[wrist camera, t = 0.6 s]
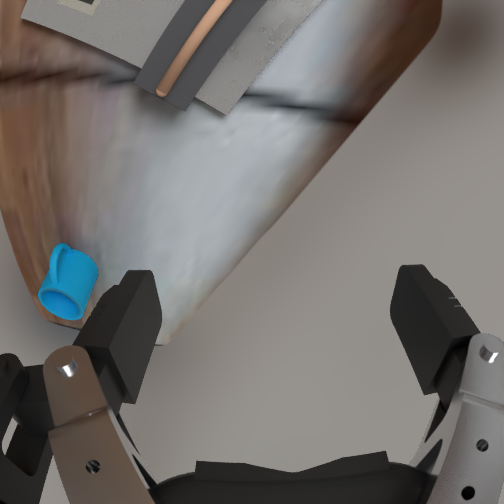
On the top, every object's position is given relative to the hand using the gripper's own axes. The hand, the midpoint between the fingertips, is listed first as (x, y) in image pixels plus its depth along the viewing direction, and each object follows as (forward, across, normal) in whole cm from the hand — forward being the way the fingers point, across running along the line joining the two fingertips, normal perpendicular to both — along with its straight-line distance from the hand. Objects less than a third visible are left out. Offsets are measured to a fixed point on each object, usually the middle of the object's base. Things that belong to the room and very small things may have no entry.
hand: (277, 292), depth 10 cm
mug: (+32, +31, +16) cm, 47 cm away
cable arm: (+23, +4, -14) cm, 27 cm away
